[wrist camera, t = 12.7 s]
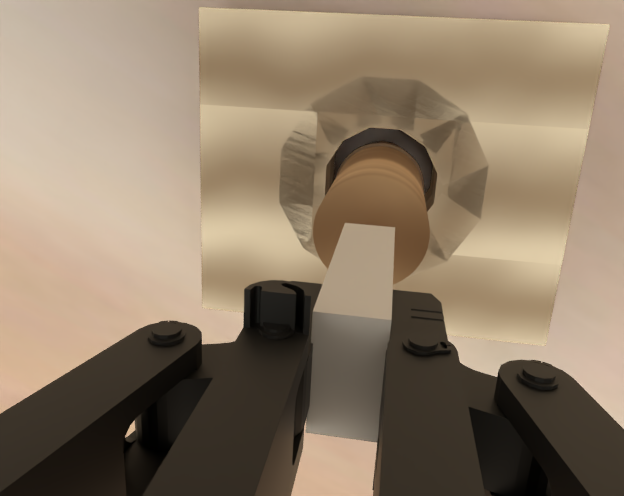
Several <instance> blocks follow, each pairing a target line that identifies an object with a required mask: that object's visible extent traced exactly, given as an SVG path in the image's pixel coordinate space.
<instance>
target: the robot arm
mask: <svg viewBox="0 0 624 496" xmlns="http://www.w3.org/2000/svg"><path fill="white" fill-rule="evenodd" d="M394 243H395V227H386V226H375V225H364V224H352V223H345V224H344V227H343V230H342V232H341V235H340V238H339V241H338V243H337V246H336V249H335V252H334V254H333V257H332V260H331V263H330V265H329V268H328V271H327V273H326V276H325V279H324V282H323V284H319V283H309V282H299V281H284V280H268V281H260V282H256V283H253V284H250V285H249V286H248V287H246V288H245V289H244V328H243V329H242V331H241V333H240V334H239V336H238V338H237V339H236V341H235V342H230V343H221V344H203V345H202V334H201V331H200V330H199V329H198V328H197V327H195V326H192V325H190V324H187V323H181V322H178V321H169V322H168V321H161V322H159V323H155V324H151V325H147V326H145V327H143V328H141V329H138V330H137V331H135V332H133V333H132V334H130V335H129V336H127V337H125V338H124V339H122V340H120V341H119V342H117V343H115V344H114V345H112V346H111V347H109V348H107V349H106V350H104V351H102V352H101V353H99V354H97V355H96V356H94V357H93V358H91V359H89V360H88V361H86V362H84V363H83V364H81V365H79V366H78V367H76V368H75V369H73V370H71V371H70V372H68V373H66V374H65V375H63V376H61V377H60V378H58V379H57V380H55V381H53V382H52V383H50V384H48V385H47V386H45V387H43V388H42V389H40V390H39V391H37V392H35V393H34V394H32V395H30V396H29V397H27V398H25V399H24V400H22V401H21V402H19V403H17V404H16V405H14V406H12V407H11V408H9V409H7V410H6V411H4V412H3V413H1V414H0V496H291V492H292V489H293V485H294V481H295V477H296V473H297V469H298V465H299V461H300V457H301V453H302V449H303V437H304V425H305V421H306V417H307V422H306V433H313V434H320V435H327V436H335V437H342V438H349V439H357V440H364V441H371V442H377V452H376V462H375V471H374V481H373V490H374V492H373V496H624V429H623V428H622V427H621V426H620V425H619V424H618V423H617V422H616V421H615V420H614V419H613V418H612V417H611V416H610V415H609V414H608V413H607V412H606V411H605V410H604V409H603V408H602V407H601V406H600V405H599V404H598V403H597V402H596V401H595V400H594V399H593V398H592V397H591V396H590V395H589V394H588V393H587V392H586V391H585V390H584V389H583V388H582V387H581V386H580V385H579V384H578V383H577V382H576V381H575V380H574V379H573V378H572V377H571V376H569V375H568V374H567V373H565V372H564V371H562V370H560V369H558V368H556V367H553V366H552V365H551V364H548V363H545V362H543V363H541V361H536V360H531V361H529V360H515V361H509V362H507V363H505V364H503V365H501V367H500V369H499V371H498V377H495V376H491V375H488V374H484V373H481V372H478V371H475V370H472V369H470V368H468V367H466V366H464V365H463V364H461V363H460V362H459V357H458V352H457V350H456V348H455V346H454V345H453V344H452V343H450V342H449V341H448V339H447V333H446V327H445V322H444V316H443V310H442V304H441V302H440V301H439V300H438V299H437V298H436V297H435V296H434V295H432V294H431V293H421V292H412V291H402V290H393V269H394ZM134 420H135V431H134V432H133V433H131V434H130V435H129V436H128V437H126V438H125V435H126V433H127V431H128V429H129V426H130V425H131V423H132V422H133V421H134Z"/></svg>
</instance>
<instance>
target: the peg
mask: <svg viewBox="0 0 624 496" xmlns="http://www.w3.org/2000/svg"><path fill="white" fill-rule="evenodd" d="M345 223H352V224H364V225H375V226H386V227H395V243H394V269H393V284H396V283H398V282H400V281H402V280H403V279H405V278H406V277H408V276H409V275H410V274H411V273H413V272H414V271H415V270H416V268H417V267H418V266H419V265H420V263H421V262H422V260H423V258H424V256H425V254H426V252H427V249H428V245H429V240H430V227H429V220H428V214H427V209H426V203H425V197H424V180H423V175H422V172H421V169H420V167H419V165H418V163H417V162H416V160H415V159H414V158H413V157H412V156H411V155H410V154H409V153H408V152H407V151H405V150H404V149H402V148H401V147H399V146H398V145H396V144H394V143H391V142H386V141H379V142H374V143H370V144H367V145H364V146H361V147H359V148H358V149H356V150H354V151H353V152H352V153H350V154H349V155H348V156H347V157H346V159H345V160H344V161H343V163H342V164H341V166H340V168H339V170H338V172H337V175H336V178H335V180H334V182H333V184H332V186H331V187H330V189H329V191H328V192H327V194H326V196H325V197H324V199H323V201H322V203H321V204H320V206H319V208H318V210H317V213H316V215H315V219H314V224H313V239H314V245H315V248H316V251H317V253H318V256H319V258H320V259H321V261H322V263H323V264H324V265H325V266H326V268H327V269H328V268H329V265H330V263H331V260H332V257H333V254H334V252H335V249H336V246H337V243H338V241H339V238H340V235H341V232H342V230H343V227H344V224H345Z"/></svg>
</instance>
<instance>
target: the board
mask: <svg viewBox="0 0 624 496" xmlns="http://www.w3.org/2000/svg"><path fill="white" fill-rule="evenodd" d="M609 27H610V24H592V23H568V22H544V21H520V20H496V19H472V18H448V17H424V16H400V15H376V14H352V13H328V12H304V11H280V10H256V9H232V8H208V7H199V75H200V161H201V247H202V308H207V309H216V310H225V311H234V312H243V313H244V289H245V288H246V287H248V286H249V285H250V284H253V283H256V282H260V281H268V280H284V281H299V282H309V283H319V284H323V282H324V279H325V276H326V273H327V271H328V269H327V268H326V266H325V265H324V264H323V263H322V261H321V259H320V258H319V256H318V253H317V251H316V248H315V245H314V239H313V224H314V219H315V215H316V213H317V210H318V208H319V206H320V204H321V203H322V201H323V199H324V197H325V196H326V194H327V192H328V191H329V189H330V187H331V186H332V184H333V182H334V180H333V178H334V162H335V153H336V152H337V150H338V149H339V147H340V146H341V144H342V143H343V141H344V140H346V139H348V138H350V137H352V136H354V135H356V134H358V133H360V132H362V131H364V130H366V129H368V128H383V129H398V130H401V131H403V132H404V133H406V134H407V135H409V136H410V137H412V138H413V139H415V140H416V141H418V142H419V143H420V144H422V145H423V146H425V147H426V150H427V152H428V154H429V156H430V159H431V161H432V163H433V167H432V176H431V184H430V188H429V189H428V191H427V192H426V193H425V195H424V197H425V203H426V209H427V214H428V220H429V227H430V240H429V245H428V249H427V252H426V254H425V256H424V258H423V260H422V262H421V263H420V265H419V266H418V267H417V268H416V270H415V271H414V272H413V273H411V274H410V275H409V276H408V277H406V278H405V279H403V280H402V281H400V282H398V283H396V284H393V290H402V291H412V292H421V293H431V294H432V295H434V296H435V297H436V298H437V299H438V300H439V301H440V302H441V304H442V310H443V316H444V322H445V327H446V333H447V335H450V336H459V337H468V338H477V339H486V340H495V341H504V342H513V343H522V344H531V345H540V346H546V341H547V336H548V331H549V326H550V321H551V316H552V311H553V306H554V301H555V296H556V291H557V286H558V281H559V276H560V271H561V266H562V261H563V256H564V251H565V246H566V241H567V236H568V231H569V226H570V221H571V216H572V211H573V206H574V201H575V196H576V191H577V186H578V181H579V177H580V172H581V167H582V162H583V157H584V152H585V147H586V142H587V137H588V132H589V127H590V122H591V117H592V112H593V107H594V102H595V97H596V92H597V87H598V82H599V77H600V72H601V67H602V62H603V57H604V52H605V47H606V42H607V37H608V32H609Z"/></svg>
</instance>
